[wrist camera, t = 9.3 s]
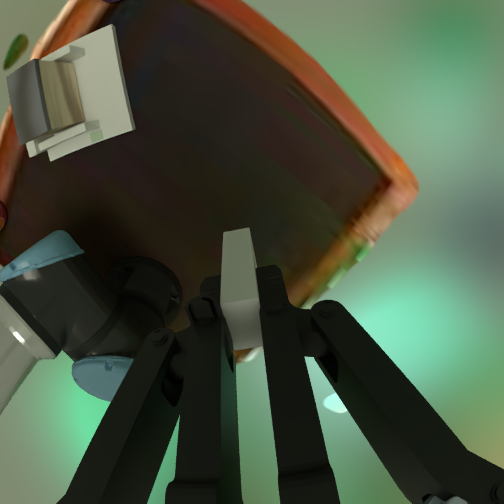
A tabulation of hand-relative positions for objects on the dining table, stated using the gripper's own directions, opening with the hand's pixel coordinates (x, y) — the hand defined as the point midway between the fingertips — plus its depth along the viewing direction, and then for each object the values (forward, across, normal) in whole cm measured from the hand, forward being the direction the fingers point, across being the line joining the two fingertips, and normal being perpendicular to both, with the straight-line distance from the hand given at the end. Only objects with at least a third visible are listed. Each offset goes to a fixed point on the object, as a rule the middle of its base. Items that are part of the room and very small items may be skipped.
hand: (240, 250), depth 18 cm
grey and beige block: (+28, -24, +17) cm, 40 cm away
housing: (+29, -22, +17) cm, 40 cm away
